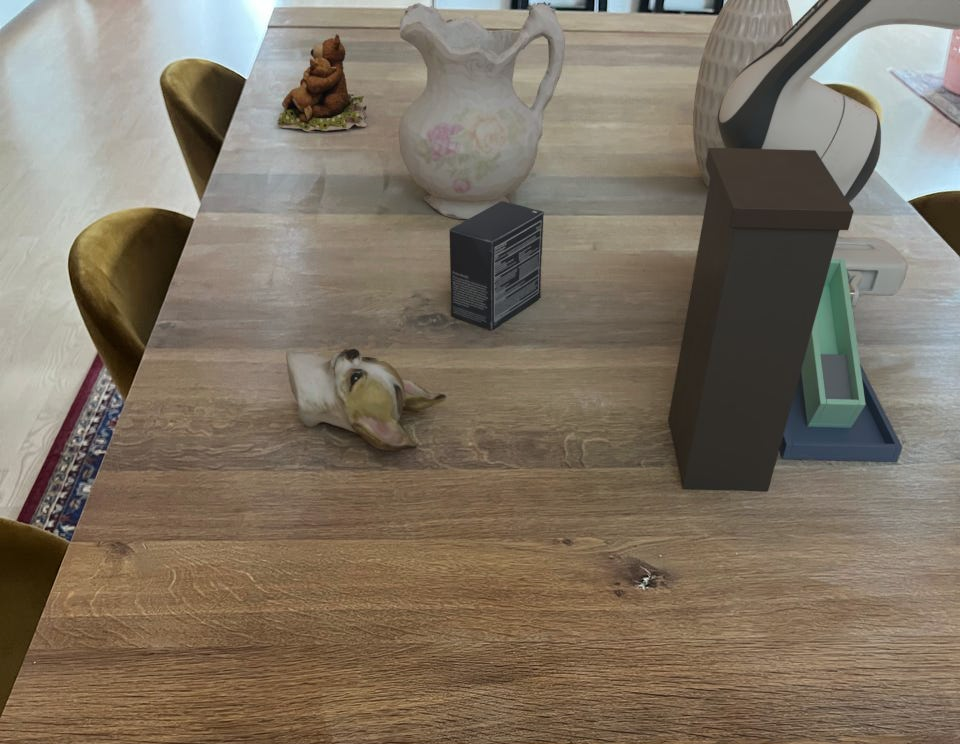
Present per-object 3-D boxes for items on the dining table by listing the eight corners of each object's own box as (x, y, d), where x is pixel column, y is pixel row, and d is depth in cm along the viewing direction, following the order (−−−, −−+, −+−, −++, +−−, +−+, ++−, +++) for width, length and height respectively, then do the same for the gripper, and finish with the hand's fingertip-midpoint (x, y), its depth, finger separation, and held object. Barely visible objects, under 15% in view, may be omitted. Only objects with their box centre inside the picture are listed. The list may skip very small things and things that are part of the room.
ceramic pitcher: (526, 181, 149) (529, -13, 133) (575, 220, 135) (585, 8, 119) (389, 197, 144) (374, -3, 128) (425, 239, 130) (414, 20, 114)
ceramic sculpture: (307, 310, 96) (451, 341, 94) (312, 386, 103) (447, 417, 100) (260, 362, 89) (415, 397, 87) (269, 441, 96) (413, 476, 93)
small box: (498, 284, 121) (501, 197, 114) (542, 298, 119) (547, 211, 111) (447, 315, 115) (446, 226, 108) (492, 331, 112) (494, 241, 105)
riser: (750, 419, 100) (815, 150, 82) (774, 494, 91) (854, 210, 72) (662, 416, 100) (708, 147, 82) (678, 492, 91) (733, 207, 73)
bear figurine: (279, 108, 169) (270, 27, 160) (366, 106, 170) (361, 26, 161) (276, 134, 159) (266, 49, 151) (368, 132, 160) (363, 48, 152)
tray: (840, 345, 111) (844, 331, 110) (897, 462, 95) (902, 447, 94) (742, 343, 111) (745, 329, 110) (782, 459, 95) (786, 444, 94)
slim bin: (832, 285, 105) (845, 258, 101) (850, 428, 98) (865, 404, 94) (791, 284, 105) (802, 257, 101) (807, 426, 98) (820, 403, 94)
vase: (785, 189, 145) (836, -38, 126) (723, 206, 140) (767, -27, 120) (725, 163, 153) (764, -55, 133) (664, 179, 148) (696, -45, 128)
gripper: (878, 273, 113) (912, 330, 103) (702, 267, 113) (719, 324, 103) (895, 218, 109) (933, 272, 99) (712, 212, 109) (731, 266, 99)
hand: (822, 299), depth 101 cm, fingers closed on slim bin, 4 cm apart
